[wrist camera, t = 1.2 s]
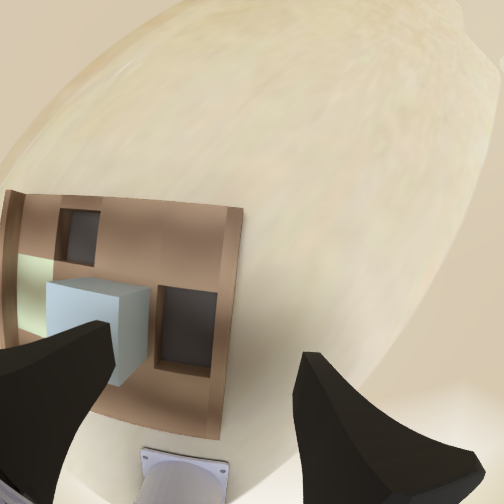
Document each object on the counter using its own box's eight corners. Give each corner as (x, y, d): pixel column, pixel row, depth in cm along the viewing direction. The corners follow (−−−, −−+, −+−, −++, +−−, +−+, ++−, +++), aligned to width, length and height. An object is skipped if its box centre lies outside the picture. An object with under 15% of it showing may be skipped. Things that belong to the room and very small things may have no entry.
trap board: (220, 426, 20) (217, 455, 16) (30, 373, 19) (7, 386, 15) (243, 213, 20) (243, 202, 16) (33, 198, 19) (5, 189, 15)
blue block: (147, 357, 18) (119, 386, 13) (87, 343, 17) (49, 363, 12) (150, 287, 18) (119, 297, 13) (87, 276, 18) (46, 281, 13)
